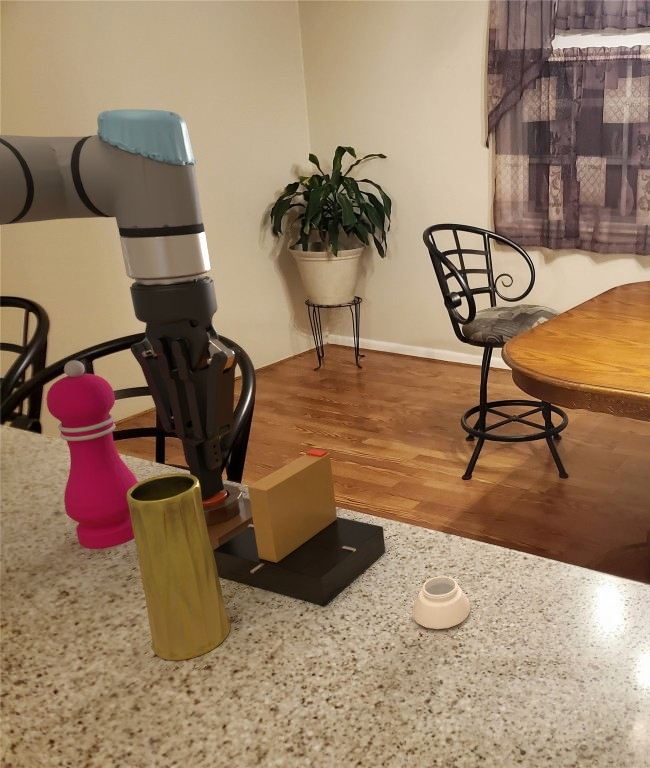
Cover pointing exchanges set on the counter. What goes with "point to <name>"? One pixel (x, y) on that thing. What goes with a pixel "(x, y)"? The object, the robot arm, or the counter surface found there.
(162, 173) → the robot arm
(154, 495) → the vase
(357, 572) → the black square base
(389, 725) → the counter surface
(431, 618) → the white jar
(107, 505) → the pepper mill
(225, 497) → the button
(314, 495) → the yellow block
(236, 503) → the drain block
